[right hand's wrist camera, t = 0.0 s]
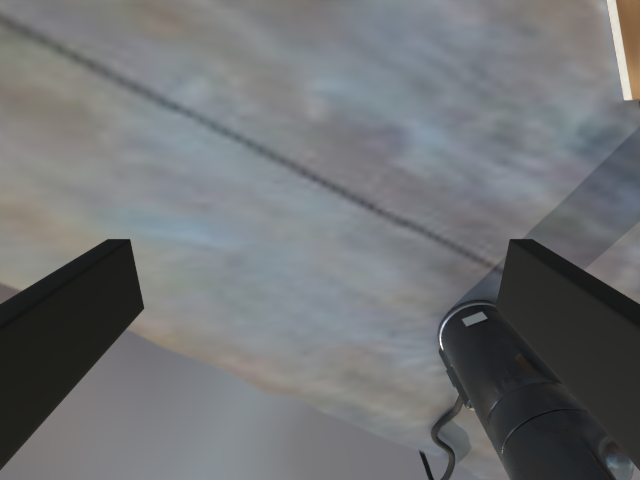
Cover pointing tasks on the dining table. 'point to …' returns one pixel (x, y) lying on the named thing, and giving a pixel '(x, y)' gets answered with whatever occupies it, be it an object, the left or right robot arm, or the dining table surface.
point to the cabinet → (627, 43)
